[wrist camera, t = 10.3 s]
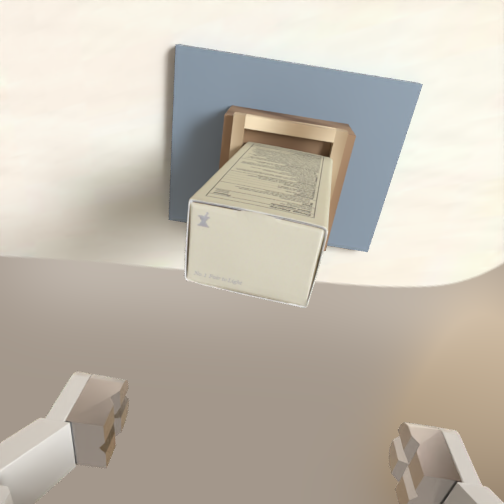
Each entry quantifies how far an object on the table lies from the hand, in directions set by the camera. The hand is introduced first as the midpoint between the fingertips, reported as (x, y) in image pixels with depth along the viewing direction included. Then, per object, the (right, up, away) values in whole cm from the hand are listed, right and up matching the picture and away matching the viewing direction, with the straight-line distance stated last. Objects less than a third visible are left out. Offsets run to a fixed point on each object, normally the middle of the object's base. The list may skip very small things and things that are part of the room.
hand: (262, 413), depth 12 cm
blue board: (+2, +13, +21) cm, 25 cm away
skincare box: (+2, +10, +16) cm, 19 cm away
